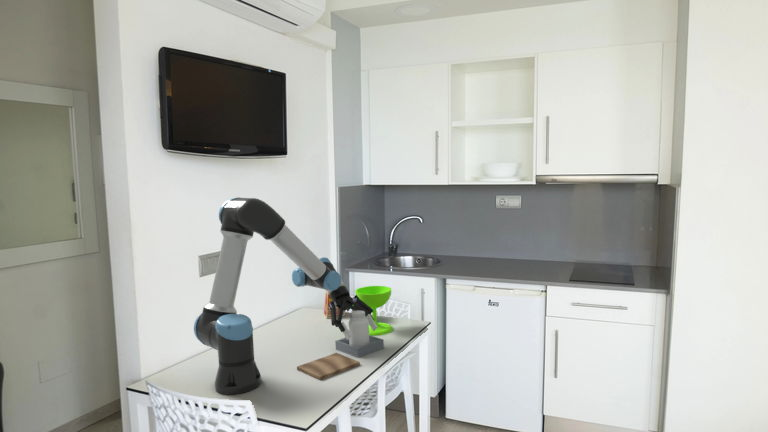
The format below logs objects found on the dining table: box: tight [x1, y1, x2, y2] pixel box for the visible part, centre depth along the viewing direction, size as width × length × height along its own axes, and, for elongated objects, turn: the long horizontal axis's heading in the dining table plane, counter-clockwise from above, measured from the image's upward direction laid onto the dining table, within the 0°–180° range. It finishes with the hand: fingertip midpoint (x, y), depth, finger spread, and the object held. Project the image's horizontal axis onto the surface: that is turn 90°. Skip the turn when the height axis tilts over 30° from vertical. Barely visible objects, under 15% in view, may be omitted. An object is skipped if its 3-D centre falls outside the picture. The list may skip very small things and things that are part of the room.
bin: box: [335, 335, 385, 359], centre depth 206 cm, size 14×14×4 cm
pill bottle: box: [348, 310, 369, 348], centre depth 205 cm, size 8×8×15 cm
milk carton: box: [323, 290, 346, 319], centre depth 253 cm, size 9×9×20 cm
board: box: [296, 352, 361, 381], centre depth 188 cm, size 18×14×1 cm
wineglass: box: [354, 285, 394, 337], centre depth 228 cm, size 16×16×18 cm
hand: (362, 333), depth 204 cm, fingers open, 13 cm apart
